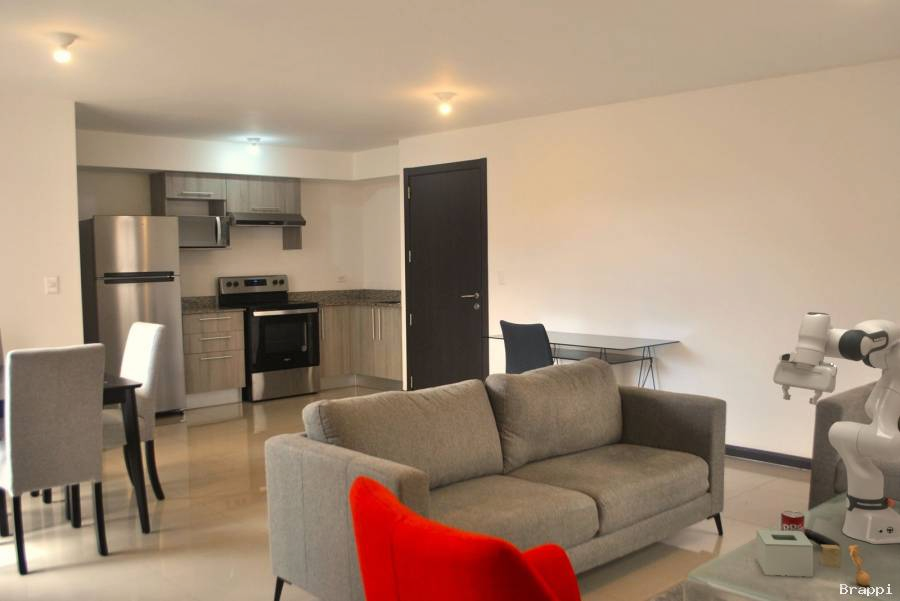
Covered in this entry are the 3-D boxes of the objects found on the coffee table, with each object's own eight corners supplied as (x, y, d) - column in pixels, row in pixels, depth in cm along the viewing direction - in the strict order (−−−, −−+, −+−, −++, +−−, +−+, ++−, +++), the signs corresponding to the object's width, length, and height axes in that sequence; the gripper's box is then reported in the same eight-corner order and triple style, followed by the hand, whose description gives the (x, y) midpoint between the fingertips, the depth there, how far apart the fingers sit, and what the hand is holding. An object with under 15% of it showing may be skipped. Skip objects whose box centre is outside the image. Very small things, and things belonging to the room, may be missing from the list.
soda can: (806, 552, 262) (806, 517, 261) (783, 551, 264) (783, 516, 263) (801, 544, 269) (801, 510, 269) (778, 543, 271) (778, 509, 270)
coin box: (801, 561, 256) (801, 531, 255) (812, 576, 244) (813, 545, 243) (756, 559, 258) (756, 529, 257) (765, 575, 246) (765, 543, 245)
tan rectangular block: (836, 563, 254) (836, 545, 253) (839, 567, 251) (840, 548, 250) (820, 562, 254) (820, 544, 254) (823, 566, 251) (823, 548, 251)
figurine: (867, 591, 233) (867, 552, 232) (844, 586, 237) (845, 547, 236) (872, 581, 240) (873, 543, 239) (851, 576, 243) (851, 538, 242)
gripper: (843, 366, 248) (835, 409, 247) (786, 358, 265) (777, 399, 264) (832, 361, 245) (823, 405, 243) (775, 354, 262) (766, 395, 261)
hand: (799, 401), depth 254 cm, fingers open, 8 cm apart
